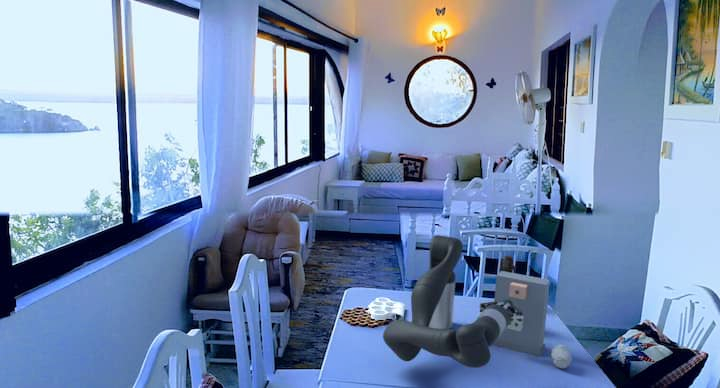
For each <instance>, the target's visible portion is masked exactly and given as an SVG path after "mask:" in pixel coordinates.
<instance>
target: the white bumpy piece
mask: <svg viewBox="0 0 720 388" xmlns="http://www.w3.org/2000/svg"><path fill="white" fill-rule="evenodd" d="M367 307H368V310H365V313H367V314H369V313H370V314H371V316H370V319H371V318H372V319H375V320H386V319H388V318H389V319H392V320H391V321H395V314H397V315H399V316H400V318H399V317H398V318H399V319H403V320H404V317H405V316H404V314H405V310H406V304H405V303H403V302H399V301H393V300H391V299H390V298H387V297H376V298H375V300H373V301H372V302H370V304H369V305H367Z"/></svg>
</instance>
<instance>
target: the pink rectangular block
mask: <svg viewBox="0 0 720 388" xmlns="http://www.w3.org/2000/svg"><path fill="white" fill-rule="evenodd" d="M527 289H528V285H525V284H520V283H515V282H512V283H511V284H510V290H509V297H514V298H519V299H524V300H525V299H526V297H527Z"/></svg>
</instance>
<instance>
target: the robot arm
mask: <svg viewBox="0 0 720 388" xmlns="http://www.w3.org/2000/svg"><path fill="white" fill-rule="evenodd" d="M463 245H464V244H463V242H462V240H460V239H459V238H456V237H453V236H452V237H451V236H446V235H445V236H444V235H439V234H437V235H434V236H433V237H432V238H431V239H430V245H429V270H427V271H426V272H424V273H422V274H421V276H419V277H418V279H417V281H416V282H415V285H414V287H413V289H412V291H411V295H410V296H411V297H410V305H411V306H410V307H411V321H409V320H406V319H404V318H403V319H398V318H397V319H398V320H392V322H390V323H389V324H388V325H387V326H386V327H385V329H384V331H383V333H382V340H383V341H384V343H385V344H386V345H387V347H388V348H389V349H390V350H391V351H392V352H393V353H394V354H395V355H396V356H397V358H399V359H400V360H401V361H403V362H410V361H413V360H414V359H415V358H416V357H417V356H418V355H419V353H420V352H421V350H424V351H426V352H428V353H430V354H433V355H436V356H441V357H447V358H451V359H452V360H454V361H456V362H457V363H460V364H461V365H463V366H466V367H468V368H472V369H473V368H474V369H476V368H477V369H478V368H483V367H484V366H486V365H487V364H488V363H489V362H490V361H491V357H492V356H491V351H490V348H489V347H490V346H492V344H493V343H494V342H495V340H496V339H497V338H498V337H499V336H500V335H501V334H502V333H503V332H504V331H505V329H506V327H507V326H508V325H509V323H510V322H511V321H513V320H514V319H517V320H518V321H522V316H523V312H521V311H520V310H519V309H518V308H517V307H516V306H514V305H513V302H511V300H508V299H506V300H504V301H503V302H500V303H498V302H496V301H494V300H493V301H488V302H481V303H479V312H480V314H479V315H478V316H477V318H476V320H475V321H474V322H472V323H467V324H464V325H461V326H459V327H458V328H457V329H451V328H452V327H453V322H454V321H453V320H454V305H455V304H454V303H455V290H456V289H455V288H456V276H457V275H456V273H455V271H454V270H455V268H456V266H457V264H458V263H459V262H460V259H461V256H462V253H463V247H464V246H463Z"/></svg>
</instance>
